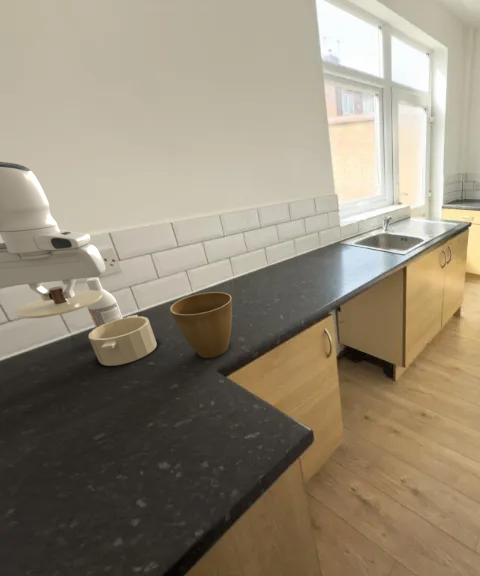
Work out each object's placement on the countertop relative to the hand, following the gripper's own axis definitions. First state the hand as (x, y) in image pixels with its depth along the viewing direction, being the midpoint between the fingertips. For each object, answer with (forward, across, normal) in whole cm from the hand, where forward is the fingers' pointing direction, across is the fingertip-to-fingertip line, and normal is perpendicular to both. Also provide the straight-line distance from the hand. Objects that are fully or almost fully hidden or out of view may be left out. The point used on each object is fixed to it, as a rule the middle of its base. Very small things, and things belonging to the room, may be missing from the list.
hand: (59, 298), depth 75 cm
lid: (+2, 0, 0) cm, 2 cm away
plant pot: (+22, +28, +1) cm, 36 cm away
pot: (+23, +5, +11) cm, 25 cm away
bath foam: (+23, -3, +24) cm, 33 cm away
